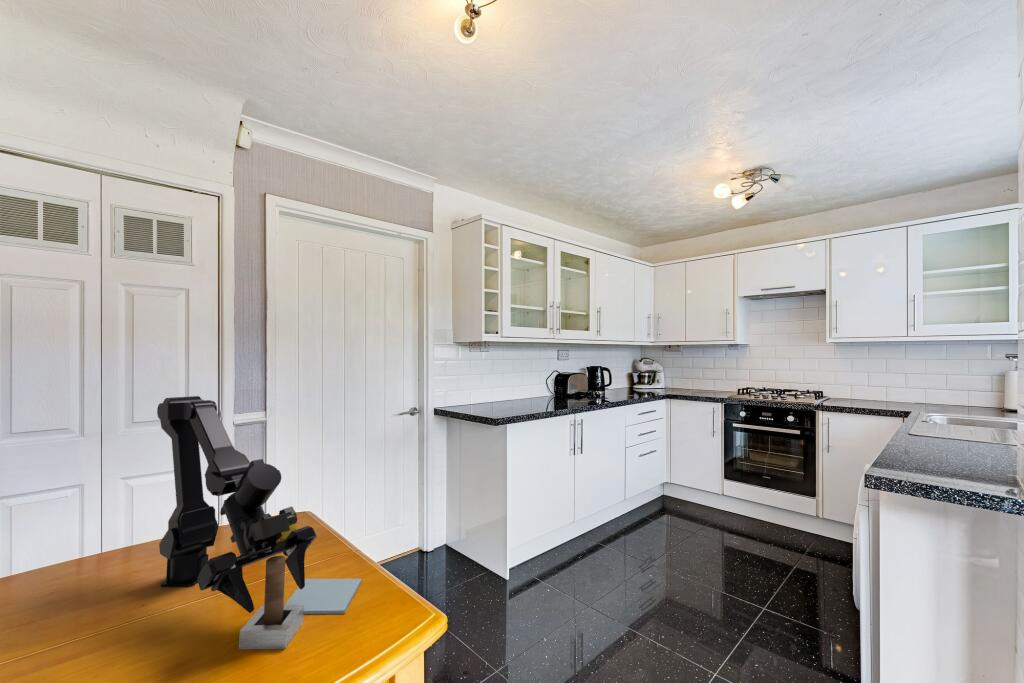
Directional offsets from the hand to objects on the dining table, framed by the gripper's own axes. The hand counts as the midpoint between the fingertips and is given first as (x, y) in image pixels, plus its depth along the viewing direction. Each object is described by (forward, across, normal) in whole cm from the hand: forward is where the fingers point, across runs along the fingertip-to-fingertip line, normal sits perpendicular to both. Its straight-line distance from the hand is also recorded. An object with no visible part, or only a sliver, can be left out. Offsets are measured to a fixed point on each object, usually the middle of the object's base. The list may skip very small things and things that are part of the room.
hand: (278, 599), depth 77 cm
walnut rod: (+4, 0, +6) cm, 7 cm away
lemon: (-21, +23, +31) cm, 44 cm away
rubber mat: (+1, +12, +8) cm, 15 cm away
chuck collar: (+4, 0, +6) cm, 7 cm away
